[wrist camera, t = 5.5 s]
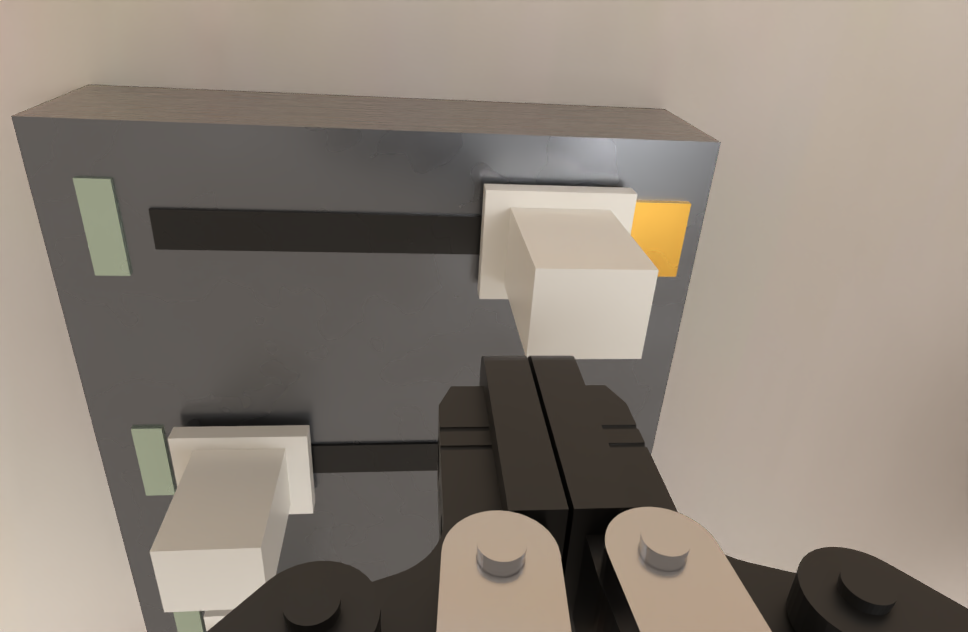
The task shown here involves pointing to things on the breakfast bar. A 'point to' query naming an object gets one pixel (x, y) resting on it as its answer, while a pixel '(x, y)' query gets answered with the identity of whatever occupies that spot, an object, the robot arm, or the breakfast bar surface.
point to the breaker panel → (321, 283)
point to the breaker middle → (229, 512)
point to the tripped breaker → (567, 268)
